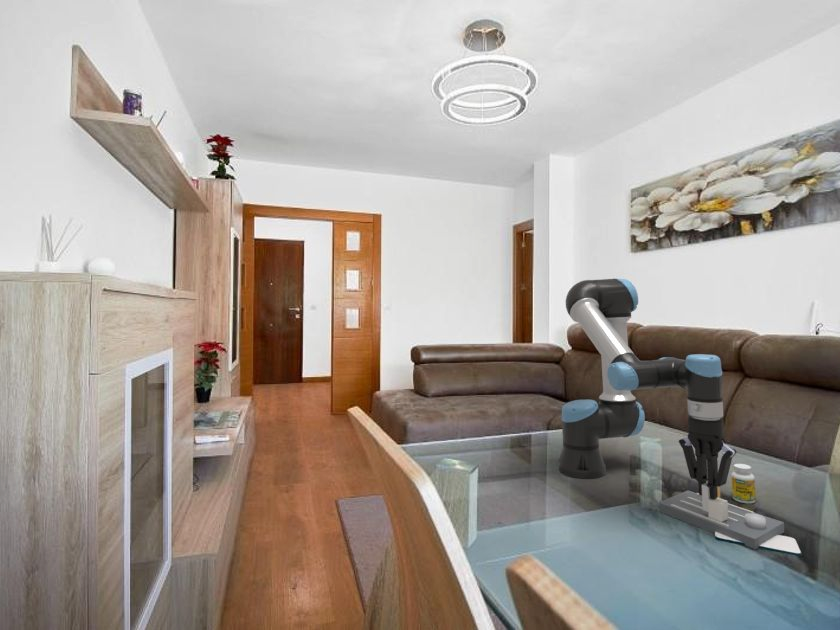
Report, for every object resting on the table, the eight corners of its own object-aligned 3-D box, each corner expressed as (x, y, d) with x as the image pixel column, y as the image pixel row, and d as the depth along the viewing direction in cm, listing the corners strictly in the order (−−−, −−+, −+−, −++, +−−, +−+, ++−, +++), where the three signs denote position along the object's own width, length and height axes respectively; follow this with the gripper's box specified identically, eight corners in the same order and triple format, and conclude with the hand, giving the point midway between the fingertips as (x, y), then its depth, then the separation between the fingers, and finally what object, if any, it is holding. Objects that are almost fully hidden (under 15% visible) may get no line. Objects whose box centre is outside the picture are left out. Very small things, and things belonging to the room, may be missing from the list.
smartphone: (795, 541, 105) (713, 526, 113) (794, 537, 105) (713, 522, 113) (802, 558, 98) (715, 541, 106) (802, 554, 98) (715, 537, 106)
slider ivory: (708, 517, 112) (708, 499, 112) (715, 514, 113) (714, 496, 113) (721, 522, 109) (720, 503, 109) (728, 518, 110) (727, 500, 110)
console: (658, 511, 122) (658, 495, 122) (688, 498, 128) (687, 483, 128) (755, 549, 101) (754, 530, 101) (784, 532, 108) (783, 514, 108)
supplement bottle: (754, 497, 127) (753, 464, 127) (757, 505, 122) (756, 470, 122) (731, 494, 129) (729, 461, 129) (733, 502, 125) (732, 467, 125)
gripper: (670, 414, 116) (674, 504, 117) (725, 424, 105) (728, 524, 105) (687, 409, 120) (691, 497, 120) (742, 419, 109) (745, 515, 109)
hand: (708, 509), depth 113 cm, fingers closed
